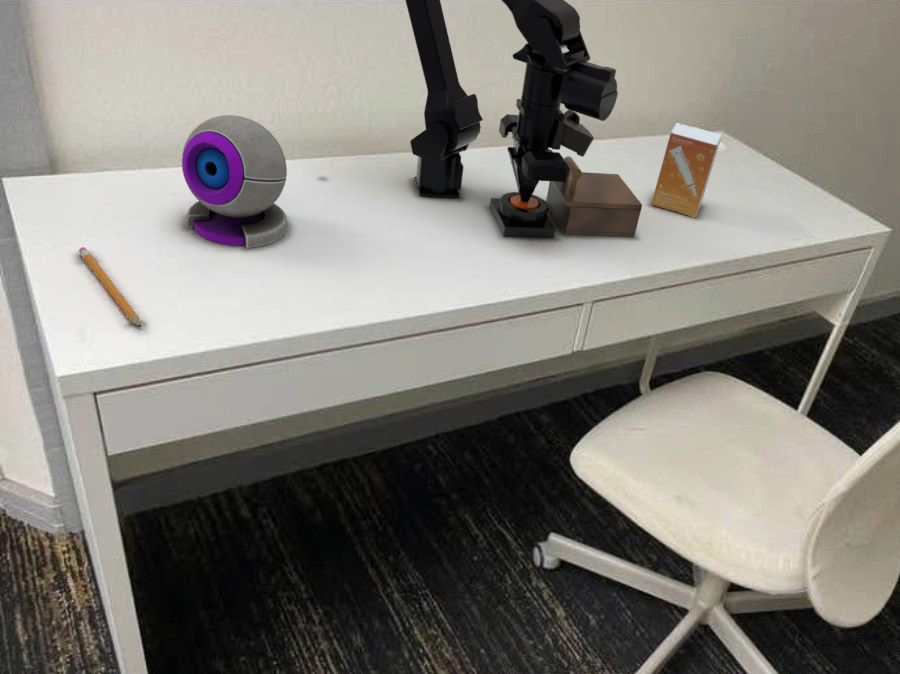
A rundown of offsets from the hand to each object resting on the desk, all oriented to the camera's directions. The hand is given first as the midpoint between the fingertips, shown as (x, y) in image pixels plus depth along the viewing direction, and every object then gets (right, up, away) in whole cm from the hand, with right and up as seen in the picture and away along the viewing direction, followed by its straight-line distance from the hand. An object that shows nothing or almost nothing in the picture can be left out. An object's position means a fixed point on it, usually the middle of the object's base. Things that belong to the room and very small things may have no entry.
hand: (524, 200), depth 130 cm
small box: (+26, +3, +18) cm, 32 cm away
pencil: (-48, -18, -31) cm, 60 cm away
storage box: (+10, -1, +7) cm, 13 cm away
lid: (+11, +2, +4) cm, 12 cm away
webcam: (-39, -7, -13) cm, 42 cm away
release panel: (-1, -3, +2) cm, 4 cm away
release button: (0, -1, +1) cm, 2 cm away
